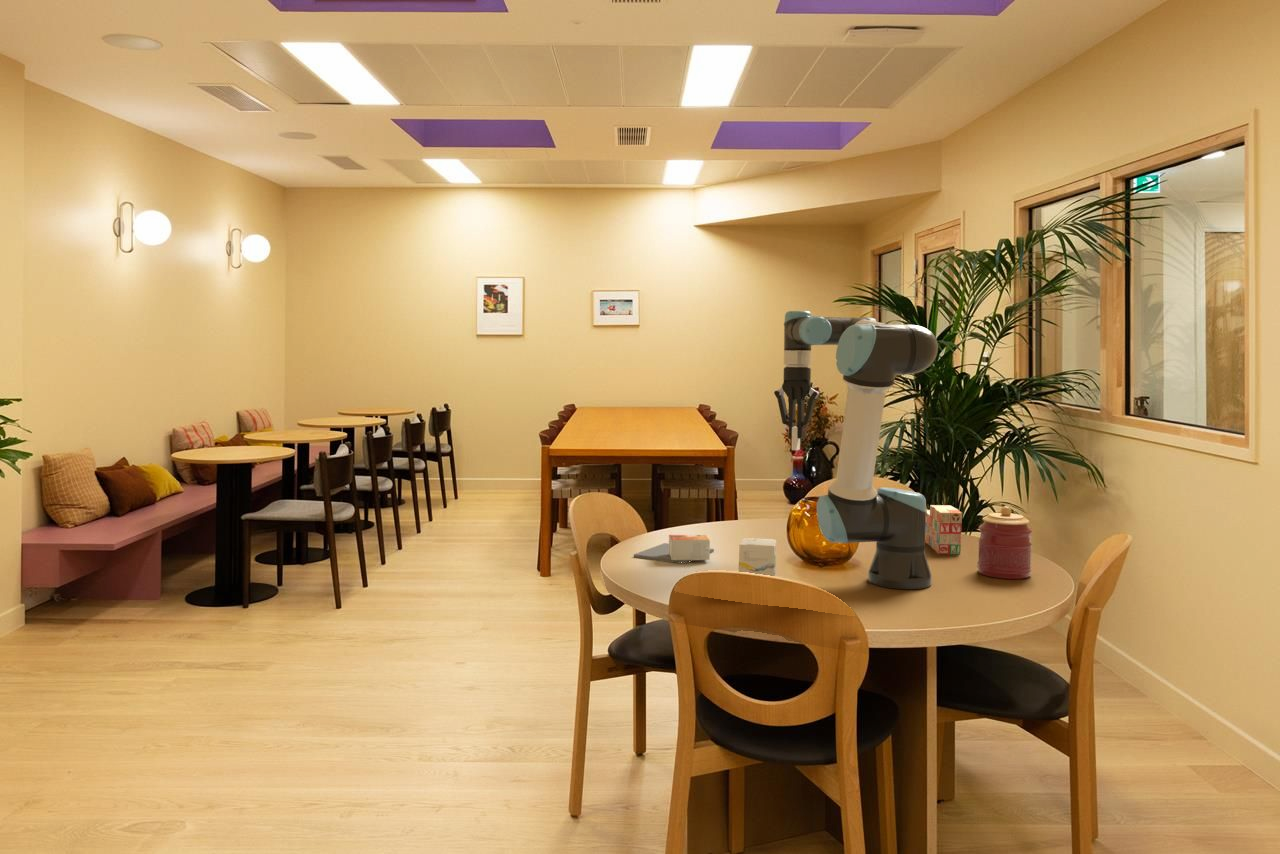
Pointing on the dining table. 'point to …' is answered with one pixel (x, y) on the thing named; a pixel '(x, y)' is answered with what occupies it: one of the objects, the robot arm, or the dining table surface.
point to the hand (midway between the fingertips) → (795, 449)
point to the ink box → (757, 556)
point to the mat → (660, 554)
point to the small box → (689, 547)
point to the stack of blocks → (944, 529)
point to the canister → (1005, 545)
